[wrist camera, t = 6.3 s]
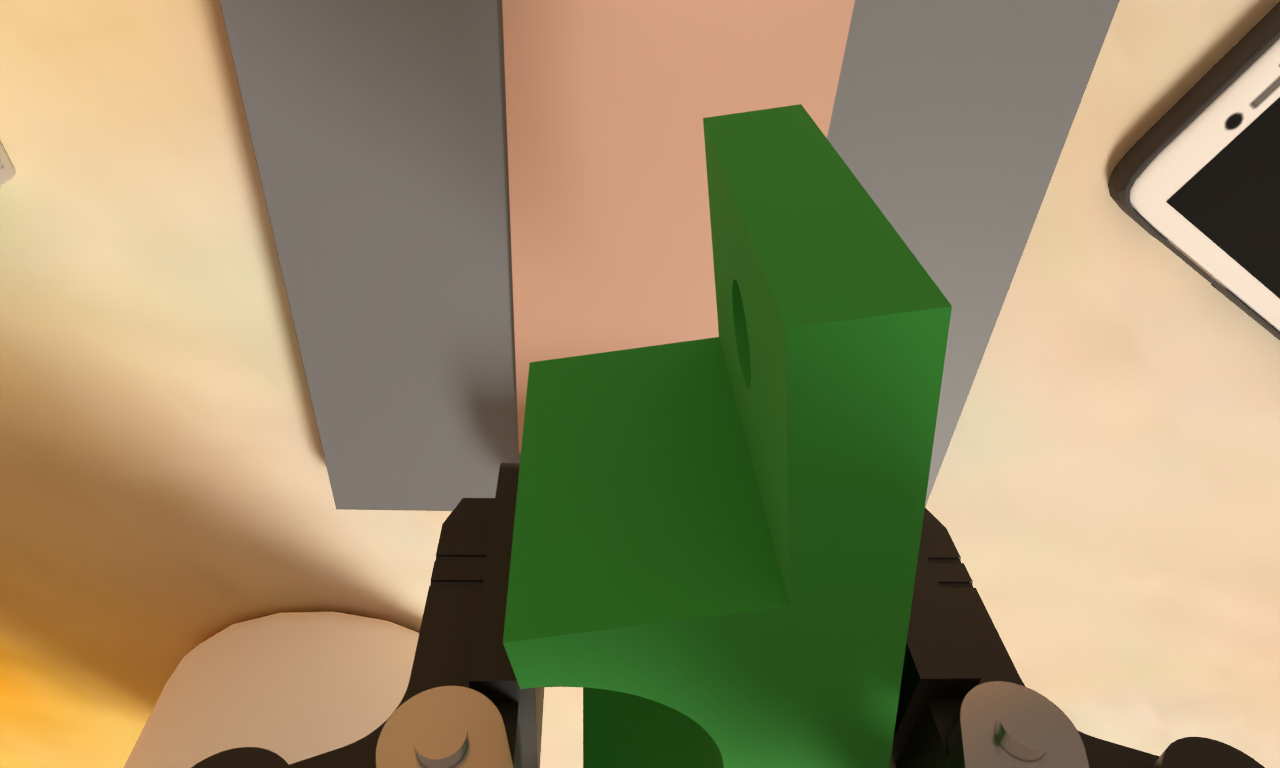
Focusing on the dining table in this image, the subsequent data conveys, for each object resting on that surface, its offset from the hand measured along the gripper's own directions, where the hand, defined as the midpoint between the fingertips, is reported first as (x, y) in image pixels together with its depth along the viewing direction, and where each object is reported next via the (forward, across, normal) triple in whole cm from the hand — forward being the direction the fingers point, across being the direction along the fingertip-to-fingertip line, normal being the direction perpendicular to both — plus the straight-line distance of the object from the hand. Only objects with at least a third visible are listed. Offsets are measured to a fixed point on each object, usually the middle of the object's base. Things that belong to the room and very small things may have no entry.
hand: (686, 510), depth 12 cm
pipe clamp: (+1, 0, 0) cm, 1 cm away
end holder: (+10, 0, 0) cm, 10 cm away
